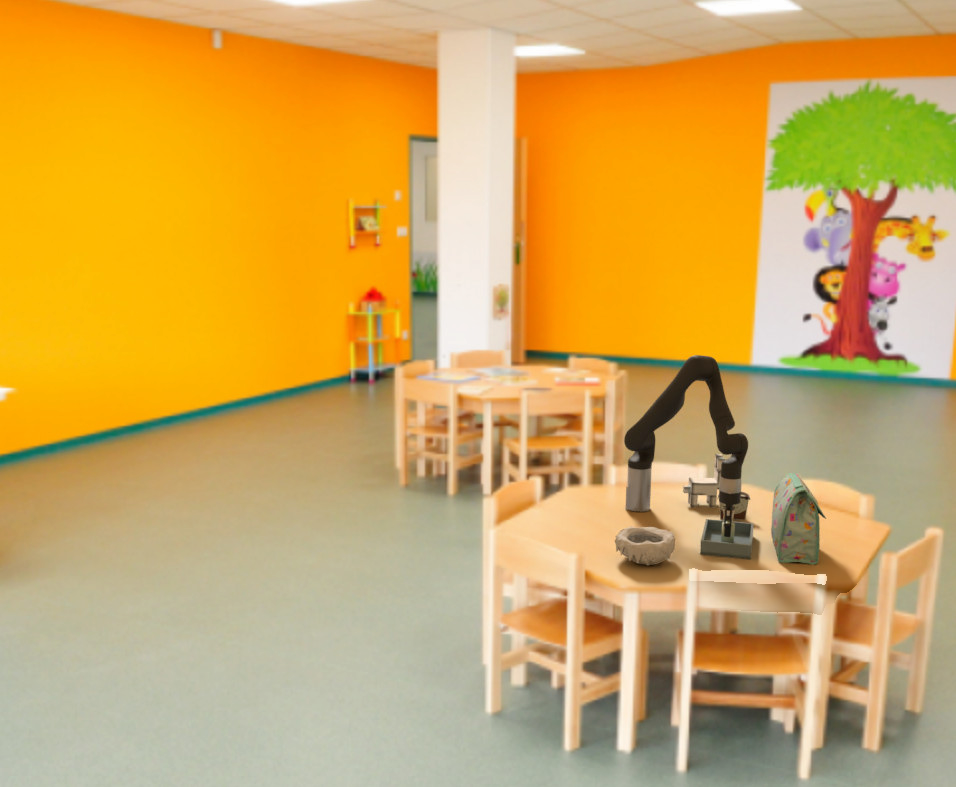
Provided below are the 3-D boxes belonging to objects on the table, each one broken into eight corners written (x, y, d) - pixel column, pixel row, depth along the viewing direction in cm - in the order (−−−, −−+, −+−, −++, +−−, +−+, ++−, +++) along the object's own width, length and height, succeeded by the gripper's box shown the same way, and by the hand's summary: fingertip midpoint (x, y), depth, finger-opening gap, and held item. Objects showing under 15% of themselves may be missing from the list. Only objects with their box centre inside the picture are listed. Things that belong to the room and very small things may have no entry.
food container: (746, 515, 389) (748, 490, 387) (749, 520, 383) (750, 495, 381) (714, 514, 390) (715, 489, 388) (716, 519, 384) (717, 494, 382)
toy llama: (681, 501, 406) (683, 453, 402) (725, 501, 405) (727, 454, 401) (684, 507, 399) (686, 458, 395) (728, 507, 398) (731, 459, 394)
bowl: (683, 571, 332) (684, 543, 330) (622, 573, 331) (623, 544, 329) (666, 549, 353) (667, 522, 351) (609, 551, 351) (610, 523, 349)
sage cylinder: (720, 543, 355) (721, 524, 354) (721, 539, 359) (722, 521, 358) (733, 544, 354) (734, 526, 353) (734, 540, 358) (735, 522, 357)
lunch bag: (824, 566, 337) (830, 490, 331) (773, 563, 340) (778, 487, 334) (814, 543, 359) (819, 470, 354) (766, 540, 362) (771, 468, 356)
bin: (700, 554, 348) (700, 540, 347) (705, 531, 371) (705, 518, 369) (750, 559, 343) (751, 545, 342) (752, 536, 366) (753, 523, 365)
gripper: (720, 482, 360) (718, 525, 364) (718, 494, 347) (715, 538, 350) (742, 484, 358) (739, 527, 362) (740, 496, 345) (737, 540, 348)
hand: (727, 532), depth 356 cm, fingers open, 8 cm apart
